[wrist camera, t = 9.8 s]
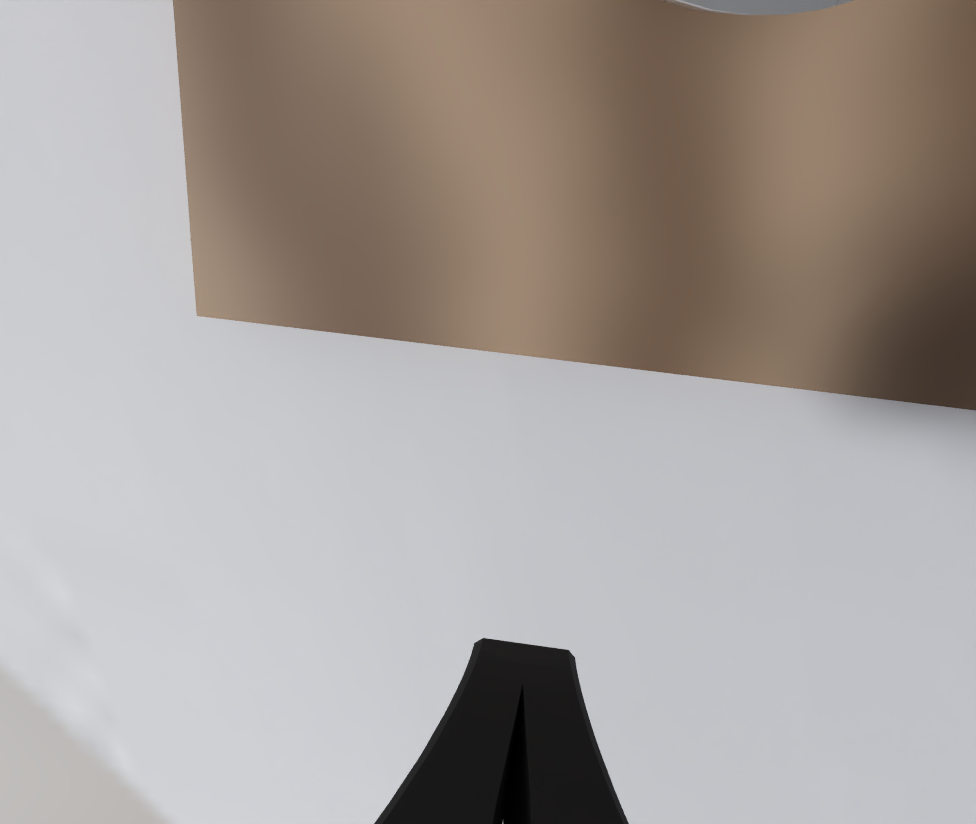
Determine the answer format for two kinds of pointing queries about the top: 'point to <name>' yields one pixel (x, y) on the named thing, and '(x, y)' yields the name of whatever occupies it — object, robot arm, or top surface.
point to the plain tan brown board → (596, 182)
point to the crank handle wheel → (755, 6)
